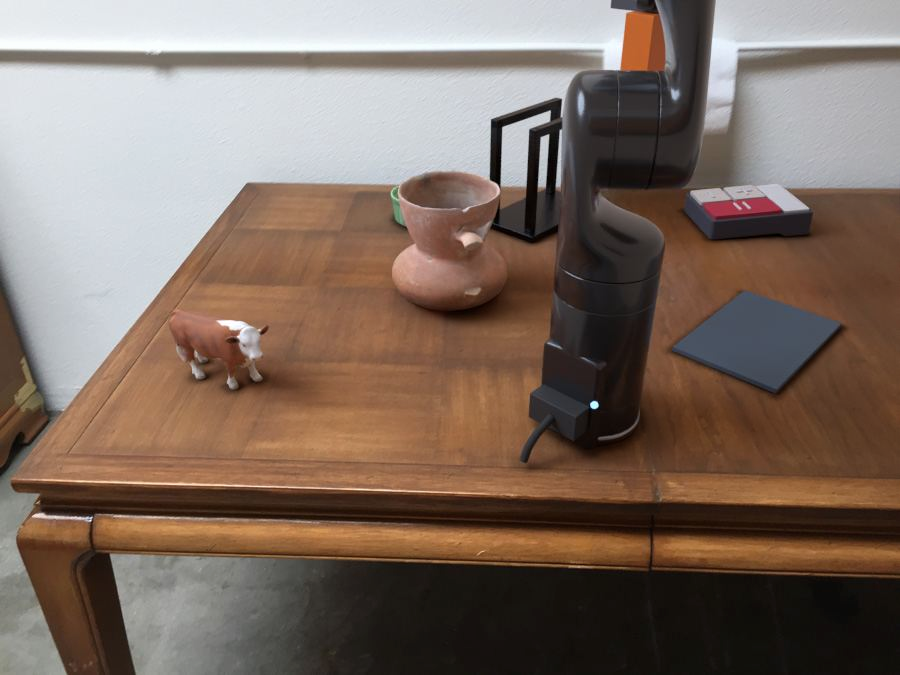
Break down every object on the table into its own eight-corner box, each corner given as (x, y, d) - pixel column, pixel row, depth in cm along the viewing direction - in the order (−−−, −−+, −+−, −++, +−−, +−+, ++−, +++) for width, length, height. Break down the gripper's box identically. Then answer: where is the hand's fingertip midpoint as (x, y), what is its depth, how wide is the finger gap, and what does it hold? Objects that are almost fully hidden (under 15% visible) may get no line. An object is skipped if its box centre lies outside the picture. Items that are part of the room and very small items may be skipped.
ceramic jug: (529, 315, 93) (535, 205, 86) (415, 337, 89) (411, 224, 82) (475, 253, 108) (476, 155, 100) (375, 270, 103) (368, 169, 96)
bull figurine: (260, 409, 78) (249, 341, 73) (170, 370, 84) (154, 305, 79) (290, 387, 81) (280, 321, 76) (200, 351, 87) (187, 288, 83)
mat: (775, 394, 79) (777, 389, 79) (671, 351, 86) (672, 346, 86) (840, 327, 90) (842, 323, 90) (744, 293, 97) (744, 289, 97)
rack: (531, 243, 110) (537, 133, 102) (479, 224, 116) (481, 119, 108) (598, 209, 121) (609, 107, 112) (547, 193, 127) (554, 94, 118)
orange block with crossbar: (670, 85, 87) (687, -34, 81) (596, 72, 93) (606, -40, 87) (692, 77, 90) (709, -38, 84) (618, 65, 96) (630, -43, 90)
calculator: (685, 188, 118) (780, 179, 119) (682, 214, 120) (775, 205, 121) (713, 216, 109) (815, 206, 110) (709, 244, 111) (809, 234, 112)
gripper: (674, -171, 85) (653, -2, 94) (605, -175, 77) (590, 12, 86) (738, -173, 81) (710, 4, 90) (673, -178, 72) (649, 19, 81)
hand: (651, 7), depth 88 cm, fingers closed on orange block with crossbar, 2 cm apart
